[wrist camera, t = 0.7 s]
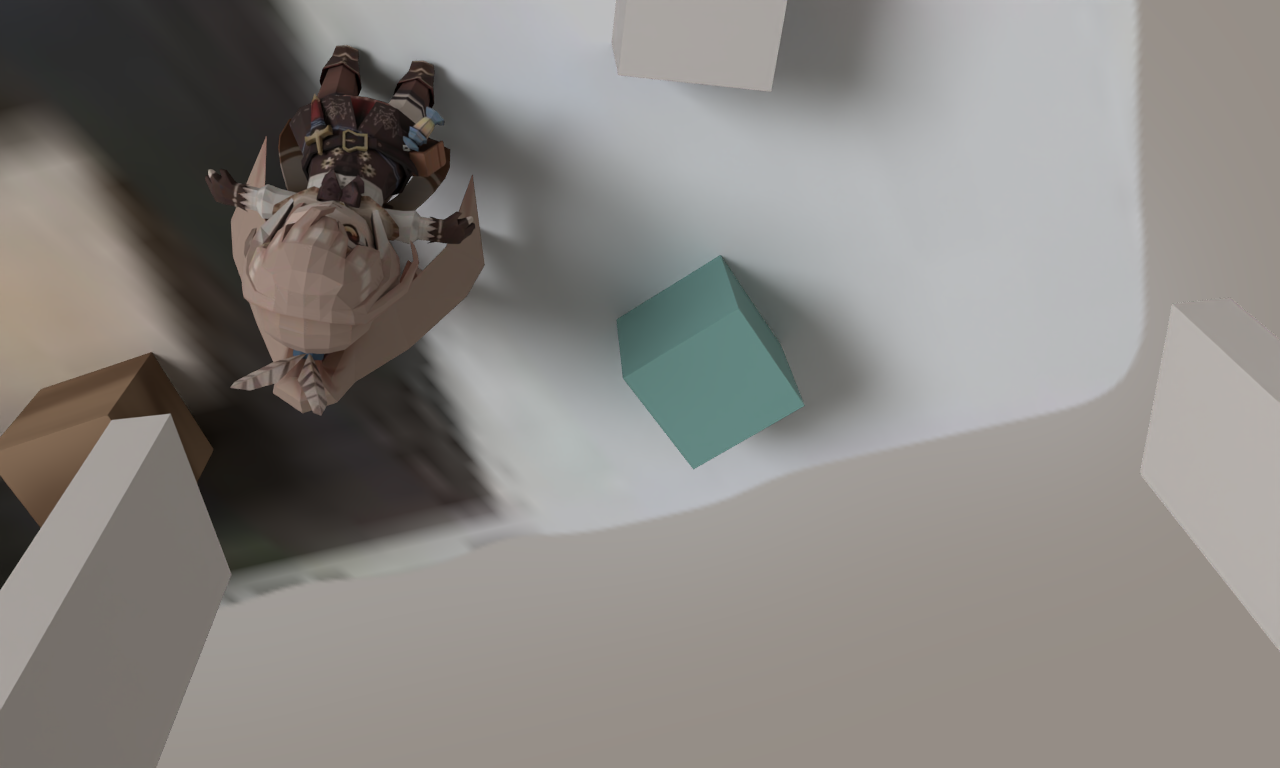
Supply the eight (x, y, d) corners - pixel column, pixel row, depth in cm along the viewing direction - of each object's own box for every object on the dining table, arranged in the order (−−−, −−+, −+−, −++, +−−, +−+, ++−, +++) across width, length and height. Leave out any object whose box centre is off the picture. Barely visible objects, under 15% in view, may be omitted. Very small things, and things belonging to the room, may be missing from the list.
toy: (519, 45, 38) (473, 344, 27) (489, 232, 44) (442, 535, 33) (254, -10, 36) (99, 284, 26) (260, 191, 42) (137, 494, 32)
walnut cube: (41, 388, 44) (-15, 455, 40) (152, 351, 43) (107, 415, 39) (108, 482, 46) (62, 555, 42) (214, 448, 46) (178, 519, 42)
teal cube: (616, 318, 44) (622, 378, 40) (720, 254, 43) (738, 308, 39) (680, 404, 46) (693, 469, 42) (780, 345, 45) (804, 405, 41)
